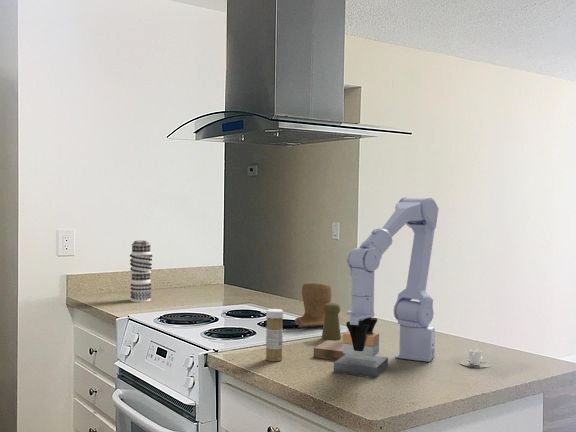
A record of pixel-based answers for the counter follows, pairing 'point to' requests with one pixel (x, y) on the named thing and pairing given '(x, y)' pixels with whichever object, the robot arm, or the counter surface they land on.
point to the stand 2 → (361, 365)
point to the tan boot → (314, 304)
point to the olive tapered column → (331, 322)
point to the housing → (369, 345)
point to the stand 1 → (329, 350)
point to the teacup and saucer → (475, 356)
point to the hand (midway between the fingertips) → (361, 348)
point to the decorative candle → (140, 271)
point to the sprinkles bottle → (274, 334)
